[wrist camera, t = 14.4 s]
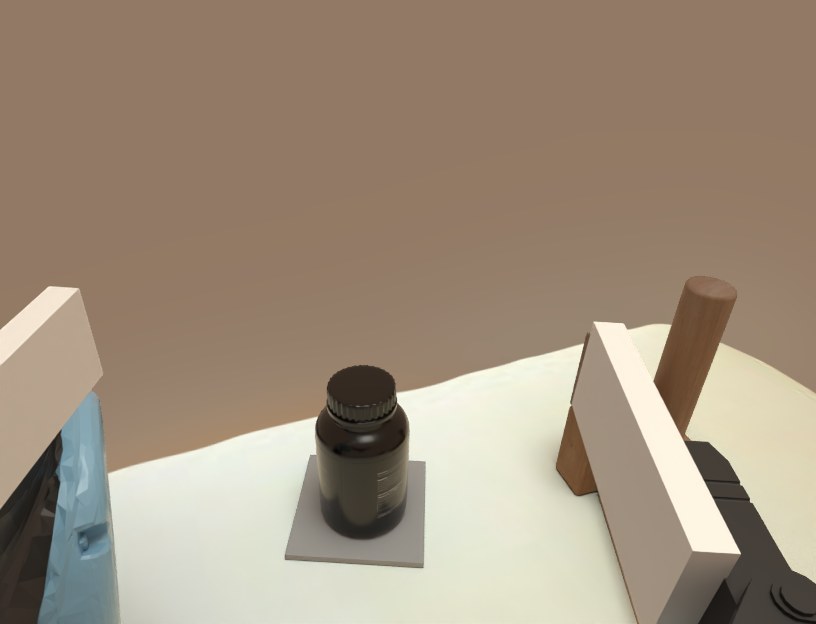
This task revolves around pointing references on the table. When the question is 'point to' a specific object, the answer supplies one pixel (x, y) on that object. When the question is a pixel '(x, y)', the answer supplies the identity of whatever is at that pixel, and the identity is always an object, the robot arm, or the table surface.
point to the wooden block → (665, 369)
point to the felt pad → (329, 545)
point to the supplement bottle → (362, 452)
